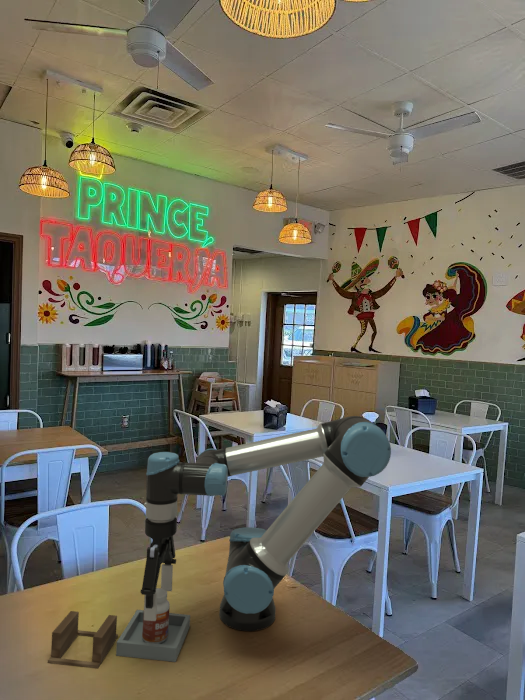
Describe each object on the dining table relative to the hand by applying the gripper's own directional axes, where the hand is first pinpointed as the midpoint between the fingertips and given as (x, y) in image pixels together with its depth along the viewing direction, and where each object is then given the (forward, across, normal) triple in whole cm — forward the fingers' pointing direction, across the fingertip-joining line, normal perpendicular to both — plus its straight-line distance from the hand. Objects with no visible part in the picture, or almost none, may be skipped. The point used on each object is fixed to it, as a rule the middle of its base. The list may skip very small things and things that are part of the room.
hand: (158, 604), depth 120 cm
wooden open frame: (+9, +6, -16) cm, 19 cm away
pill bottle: (+8, 0, -1) cm, 9 cm away
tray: (+9, 0, -1) cm, 9 cm away
